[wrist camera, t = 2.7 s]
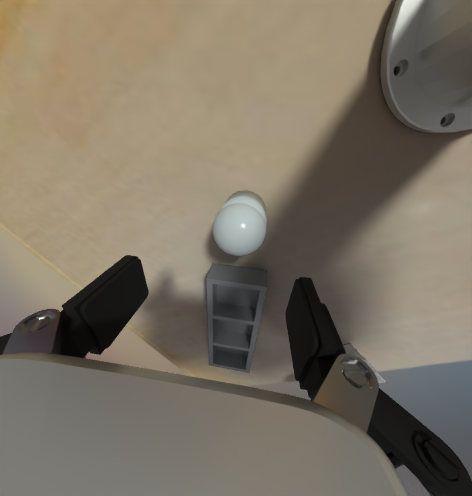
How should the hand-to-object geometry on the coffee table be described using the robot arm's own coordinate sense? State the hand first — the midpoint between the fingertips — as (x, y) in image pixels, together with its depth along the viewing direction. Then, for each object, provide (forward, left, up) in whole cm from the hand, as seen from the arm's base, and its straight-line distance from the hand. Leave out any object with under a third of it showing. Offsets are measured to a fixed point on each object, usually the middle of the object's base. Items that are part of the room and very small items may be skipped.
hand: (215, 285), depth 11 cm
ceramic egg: (-1, +1, -12) cm, 12 cm away
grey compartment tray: (+18, +1, -12) cm, 22 cm away
